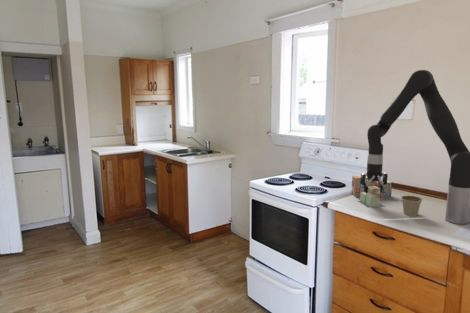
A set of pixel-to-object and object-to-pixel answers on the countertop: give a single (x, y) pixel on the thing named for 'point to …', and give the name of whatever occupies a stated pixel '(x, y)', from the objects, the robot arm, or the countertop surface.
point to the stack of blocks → (358, 187)
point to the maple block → (373, 192)
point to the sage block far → (363, 197)
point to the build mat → (370, 207)
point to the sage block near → (372, 202)
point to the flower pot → (411, 205)
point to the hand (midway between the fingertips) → (373, 192)
